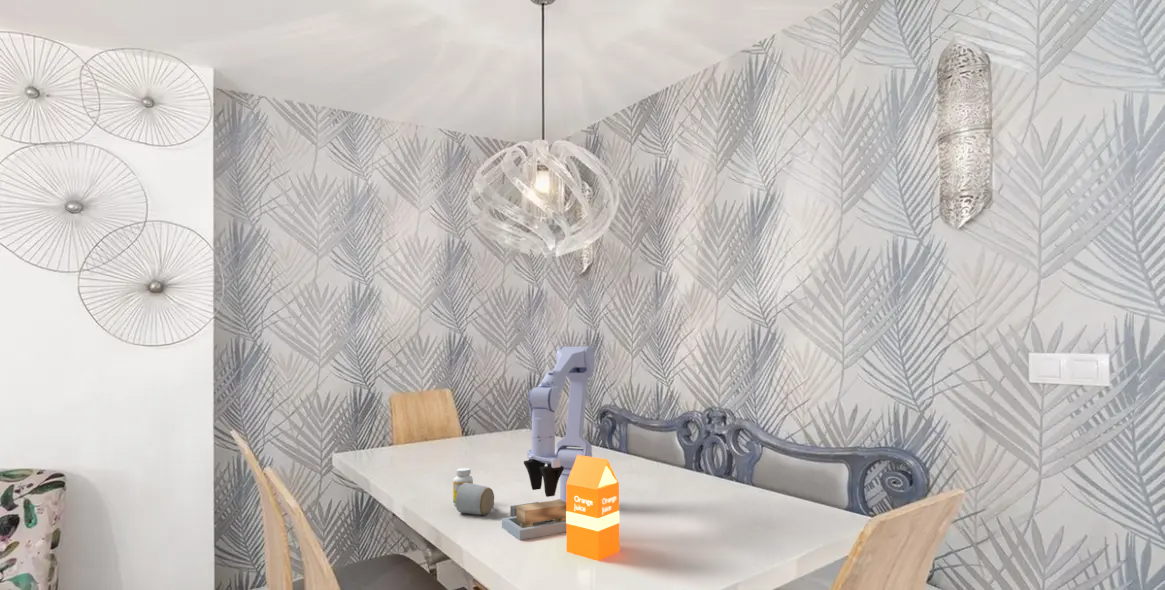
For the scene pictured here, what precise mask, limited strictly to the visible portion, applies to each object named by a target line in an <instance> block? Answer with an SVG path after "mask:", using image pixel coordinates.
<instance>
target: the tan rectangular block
mask: <svg viewBox="0 0 1165 590" xmlns="http://www.w3.org/2000/svg"><path fill="white" fill-rule="evenodd" d="M538 502H539V501H538ZM532 503H533V504H528V503H525V504H526V505H521V504H518V505H519V506H516V519H518V520H519V521H521V522H523V523H524V524H528V523H534V522H540V521H546V520H552V519H557V518H563V517H566V511H567V502H565V501H563V500H561V499H560V498H558V499H552V500H547V501H540V502H539V503H534V502H532Z"/></svg>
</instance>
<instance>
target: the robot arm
mask: <svg viewBox="0 0 1165 590" xmlns="http://www.w3.org/2000/svg"><path fill="white" fill-rule="evenodd" d="M555 359H556V360H555V361H556V363H555V366H554V368H553V369H551V370H548V371H547V372H546V373H545V375H544V377H543V378H542V379H541V381H540V383H539V384H538V385H537V386H534V387H533V388H532V389H530V390H529V392H528V395H527V398H528V399H527V406H528V410H529V418H531V449H527V451H526V455H527V457H526V458H527V459H528V460H527V459H526V460H524V461H523V464H524V466H525V468H526V470H527V473H528V477H529V480H530V481H529V482H530V486H531V490H533V491H537V490H541V489H542V483H543V487H544V493H545V497H547V498H549V497H555V496H556V491H557V487H558V484H559V493H560V494H559V496H560V497H559V499H561V500H563V501H565V502H567V496H566V483H567V480H568V478H569V475H570V473H571V470H572V468H573V465H574V463H575V460H576V458H577V455H582V456H588V457H593V453H592V452H593V449H592V444H591V443H590V441H588V440H587V439H586V438H585V437H584V427H585V426H584V424H585V414H586V413H585V412H586V403H587V401H586V400H587V399H586V398H587V390H588V387H587V386H588V381H589V380H588V379H590V378H591V377H593V375H594V370H595V353H594V350H593V348H592V346H591V345H587V346H564V345H560V346H559V347H558V348H557V351H556V355H555ZM566 378H568V379H569V381H570V384H569V393H568V405H567V416H566V417H567V418H566V427H565V436H563V437H562V438H561V439H560V440H558V441H557V442H556V432H555V431H556V411H557V409H558V408H559V401H560V398H561V396H560V395H561V392H562V391H563V390H564V387H565V386H566V383H567V379H566ZM558 482H559V483H558Z"/></svg>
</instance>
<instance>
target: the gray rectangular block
mask: <svg viewBox="0 0 1165 590" xmlns="http://www.w3.org/2000/svg"><path fill="white" fill-rule="evenodd" d="M533 503H539V501H535V502H529V503H523V504H516V505H510V511H509V512H510V513H509V514H510V515H511V516H512V517H514V516H516V506H519V505H526V504H533ZM511 516H510V517H511Z"/></svg>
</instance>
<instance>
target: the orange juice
mask: <svg viewBox="0 0 1165 590" xmlns="http://www.w3.org/2000/svg"><path fill="white" fill-rule="evenodd" d="M566 496H567V511H566V523H567V532H566V553H570V554H572V555H573V554H574V555H576V556H579V557H584V558H586V559H590V560H593V561H597V562H599V561H601V560H604V559H605V558H608V557H609V556H613V555H614V554H616V553H618V552H620V482H619V481H618V479H617V477H616V475H615V472H614V471H613V468H612V466H611V463H610V462H609V459H606V458H601V457H595V456H592V457H588V456H582V455H577V458H576V460H575V463H574V465H573V468H572V470H571V473H570V475H569V478H568V480H567V483H566Z"/></svg>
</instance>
